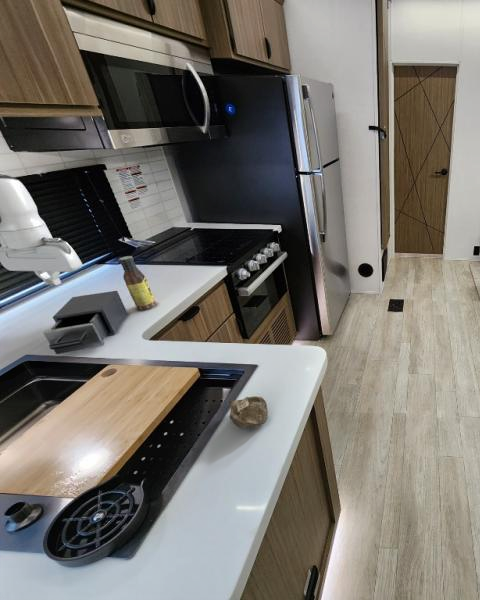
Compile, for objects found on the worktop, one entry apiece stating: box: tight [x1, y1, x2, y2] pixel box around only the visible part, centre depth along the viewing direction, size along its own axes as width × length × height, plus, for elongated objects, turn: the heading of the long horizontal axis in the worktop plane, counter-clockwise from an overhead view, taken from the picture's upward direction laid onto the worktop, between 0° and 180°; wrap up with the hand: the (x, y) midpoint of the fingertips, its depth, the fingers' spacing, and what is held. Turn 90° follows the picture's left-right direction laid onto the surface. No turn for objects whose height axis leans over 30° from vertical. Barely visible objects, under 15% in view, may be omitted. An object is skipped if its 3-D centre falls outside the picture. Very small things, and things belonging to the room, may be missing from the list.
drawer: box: [42, 312, 110, 355], centre depth 102 cm, size 18×11×8 cm, turn 23°
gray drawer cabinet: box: [52, 290, 128, 337], centre depth 111 cm, size 15×13×10 cm
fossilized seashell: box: [229, 395, 269, 429], centre depth 76 cm, size 8×7×10 cm
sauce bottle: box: [118, 255, 156, 311], centre depth 122 cm, size 7×6×20 cm
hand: (54, 284), depth 95 cm, fingers closed
